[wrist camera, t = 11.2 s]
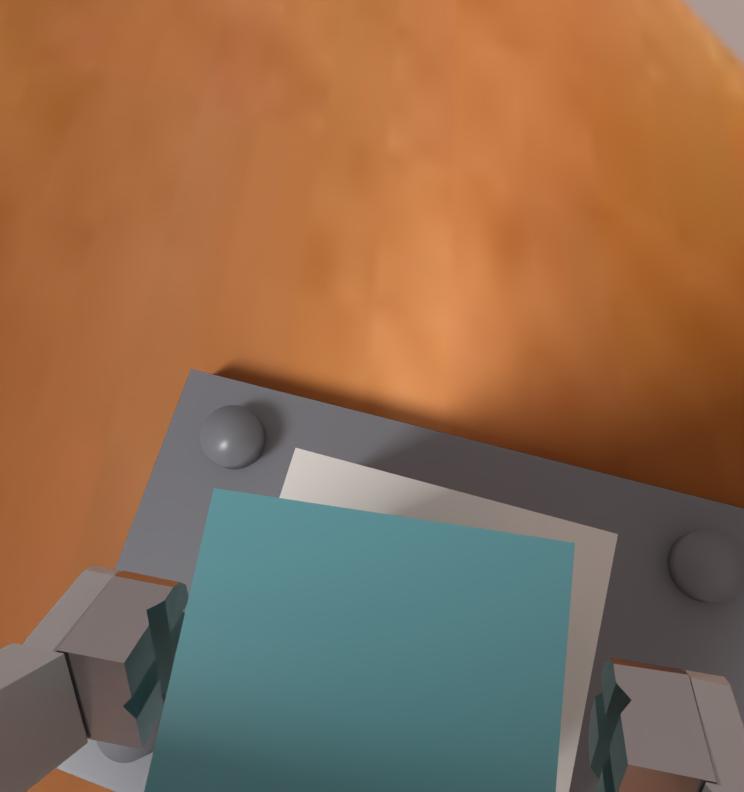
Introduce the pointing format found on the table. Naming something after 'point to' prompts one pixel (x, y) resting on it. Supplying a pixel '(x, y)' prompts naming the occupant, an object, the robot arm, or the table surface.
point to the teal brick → (364, 655)
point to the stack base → (255, 459)
